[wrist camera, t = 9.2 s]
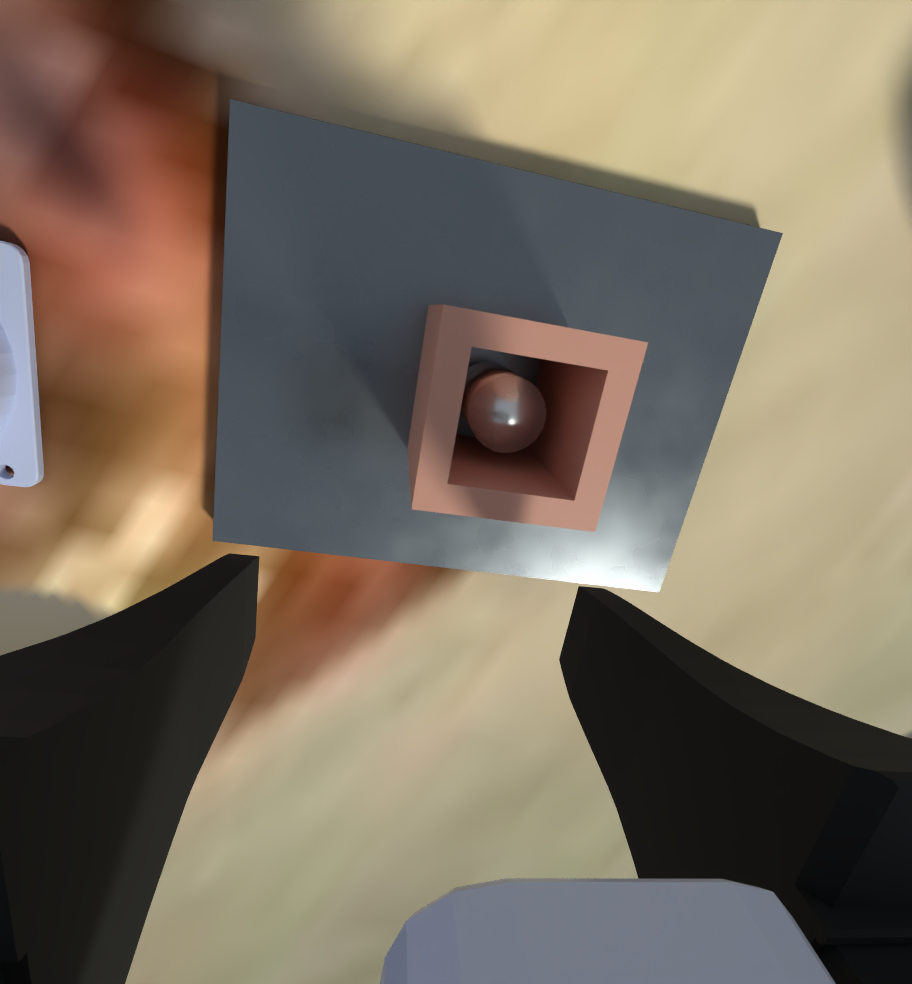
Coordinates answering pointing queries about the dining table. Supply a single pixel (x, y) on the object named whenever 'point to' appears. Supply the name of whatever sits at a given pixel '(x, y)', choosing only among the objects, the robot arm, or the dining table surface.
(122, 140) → the dining table surface
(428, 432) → the collar
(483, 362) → the stand
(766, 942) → the robot arm
